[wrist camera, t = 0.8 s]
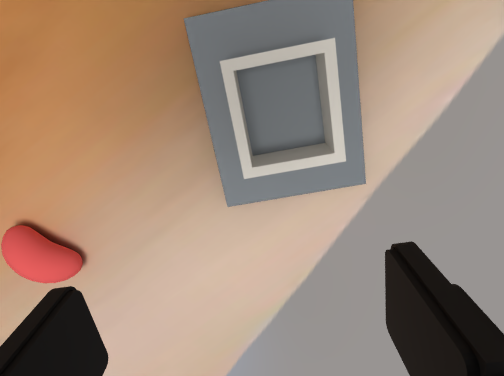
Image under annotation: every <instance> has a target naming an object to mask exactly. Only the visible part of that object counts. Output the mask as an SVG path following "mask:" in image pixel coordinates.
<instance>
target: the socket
mask: <svg viewBox="0 0 504 376" xmlns="http://www.w3.org/2000/svg"><path fill="white" fill-rule="evenodd" d="M184 22H185V26H186V31H187V35H188V39H189V43H190V48H191V52H192V56H193V61H194V65H195V69H196V73H197V78H198V82H199V86H200V91H201V95H202V99H203V103H204V108H205V112H206V116H207V121H208V125H209V129H210V133H211V138H212V142H213V146H214V151H215V155H216V159H217V164H218V168H219V172H220V176H221V181H222V185H223V189H224V194H225V198H226V202H227V206H228V207H230V206H236V205H242V204H248V203H254V202H260V201H266V200H272V199H278V198H284V197H290V196H296V195H302V194H308V193H313V192H319V191H325V190H331V189H337V188H343V187H349V186H355V185H361V184H366V179H365V164H364V150H363V136H362V122H361V107H360V93H359V79H358V65H357V50H356V36H355V22H354V8H353V0H268V1H263V2H259V3H254V4H249V5H245V6H240V7H236V8H231V9H226V10H222V11H217V12H212V13H208V14H203V15H198V16H194V17H189V18H184Z"/></svg>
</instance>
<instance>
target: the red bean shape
mask: <svg viewBox="0 0 504 376" xmlns="http://www.w3.org/2000/svg"><path fill="white" fill-rule="evenodd" d="M1 246H2V254H3V257H4V259H5V261H6V263H7V264H8V265H9V266H10V267H11V268H12V269H13V270H14V271H15V272H16V273H17V274H19V275H21V276H22V277H24V278H26V279H29V280H31V281H36V282H41V283H56V282H60V281H64V280H67V279H69V278H71V277H73V276H74V275H76V274H77V273H78V272H79V271H80V269H81V267H82V258H81V256H80V255H79V254H78V253H77V252H75V251H73V250H71V249H69V248H66V247H63V246H61V245H58V244H55V243H53V242H51V241H49V240H48V239H47V238H45V237H44V236H42V235H41V234H39V233H38V232H36V231H35V230H33V229H32V228H30V227H27V226H23V225H19V226H14V227H11V228H10V229H8V230H7V231H6V233H5V234H4V236H3V240H2V244H1Z"/></svg>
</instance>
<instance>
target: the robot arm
mask: <svg viewBox="0 0 504 376" xmlns="http://www.w3.org/2000/svg"><path fill="white" fill-rule="evenodd" d="M385 286H386V325H387V329H388V332H389V334H390V336H391V338H392V341H393V343H394V345H395V347H396V349H397V350H398V353H399V355H400V357H401V358H402V361H403V363H404V365H405V367H406V369H407V371H408V373H409V375H410V376H504V334H503V333H502V332H501V331H500V330H499V328H498V327H497V326H496V325H495V324H494V323H493V322H492V321H491V320H490V319H489V318H488V316H487V315H486V314H485V313H484V312H483V311H482V310H481V309H480V308H479V307H478V306H477V304H476V303H475V302H474V301H473V300H472V299H471V298H470V297H469V296H468V295H467V293H466V292H465V291H464V290H463V289H462V288H461V287H459V286H458V285H456V284H451V283H450V282H449V281H448V280H447V279H446V278H445V277H444V275H443V274H442V273H441V272H440V271H439V270H438V269H437V267H436V266H435V265H434V264H433V263H432V262H431V261H430V260H429V259H428V257H427V256H426V255H425V254H424V253H423V252H422V250H421V249H420V248H419V247H418V246H417V245H416V244H415V243H414V242H406V243H398V244H392V246H391V249H390V250H386V252H385ZM107 364H108V353H107V351H106V348H105V346H104V344H103V341H102V339H101V337H100V334H99V332H98V330H97V327H96V325H95V323H94V320H93V318H92V316H91V313H90V311H89V309H88V306H87V304H86V302H85V300H84V297H83V295H82V293H81V292H80V291H78V290H76V288H74V287H72V286H70V287H62V288H55V289H52V290H50V291H49V292H48V293H47V295H46V296H45V297H44V298H43V299H42V300H41V301H40V302H39V304H38V305H37V306H36V307H35V308H34V309H33V310H32V311H31V313H30V314H29V315H28V316H27V317H26V318H25V319H24V320H23V322H22V323H21V324H20V325H19V326H18V327H17V328H16V329H15V331H14V332H13V333H12V334H11V335H10V336H9V337H8V339H7V340H6V341H5V342H4V343H3V344H2V345H1V346H0V376H102V375H103V373H104V371H105V369H106V367H107Z"/></svg>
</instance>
